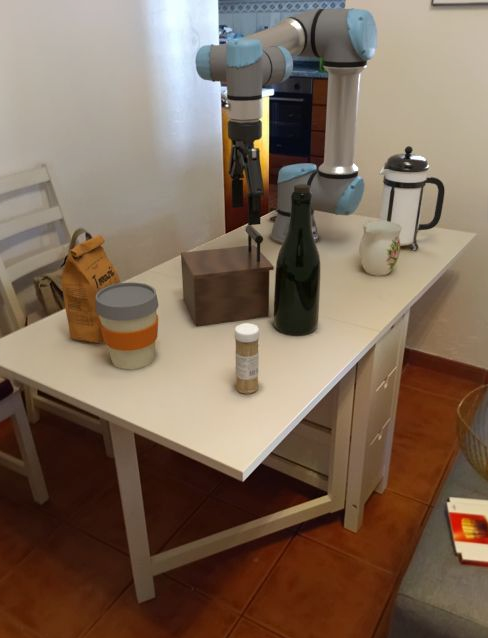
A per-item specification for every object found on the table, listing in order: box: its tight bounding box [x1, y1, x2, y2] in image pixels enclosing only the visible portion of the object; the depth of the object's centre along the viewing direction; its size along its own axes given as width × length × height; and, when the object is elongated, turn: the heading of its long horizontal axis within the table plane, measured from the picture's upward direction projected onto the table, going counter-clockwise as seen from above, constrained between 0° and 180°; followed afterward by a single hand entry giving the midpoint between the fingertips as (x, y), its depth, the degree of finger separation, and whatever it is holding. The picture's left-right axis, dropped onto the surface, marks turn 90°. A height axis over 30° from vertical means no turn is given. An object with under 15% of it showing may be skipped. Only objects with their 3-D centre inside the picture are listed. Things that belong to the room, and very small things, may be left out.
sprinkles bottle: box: [234, 322, 260, 395], centre depth 113 cm, size 5×5×13 cm
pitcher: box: [359, 220, 401, 277], centre depth 166 cm, size 11×18×14 cm, turn 143°
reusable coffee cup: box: [96, 281, 160, 370], centre depth 123 cm, size 13×13×15 cm
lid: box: [180, 224, 275, 279], centre depth 140 cm, size 19×15×7 cm
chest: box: [180, 256, 271, 327], centre depth 144 cm, size 18×15×12 cm
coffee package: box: [61, 234, 121, 343], centre depth 131 cm, size 10×12×22 cm
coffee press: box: [378, 145, 446, 251], centre depth 180 cm, size 17×16×30 cm
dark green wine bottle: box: [273, 184, 321, 336], centre depth 131 cm, size 10×10×33 cm
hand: (245, 215), depth 139 cm, fingers open, 13 cm apart
